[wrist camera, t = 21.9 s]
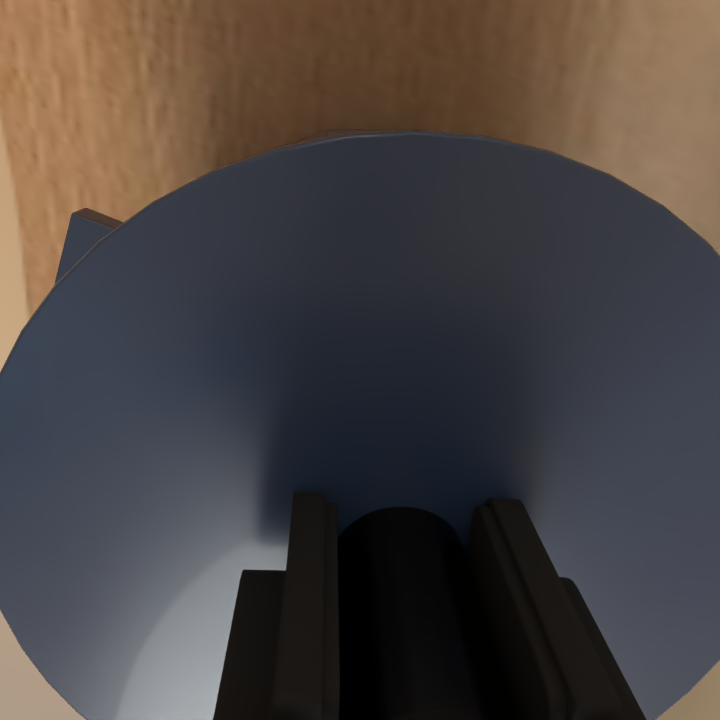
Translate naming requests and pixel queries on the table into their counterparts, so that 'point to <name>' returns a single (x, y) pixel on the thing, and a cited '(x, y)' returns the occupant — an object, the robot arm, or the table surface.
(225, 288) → the lid
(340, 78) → the table surface
